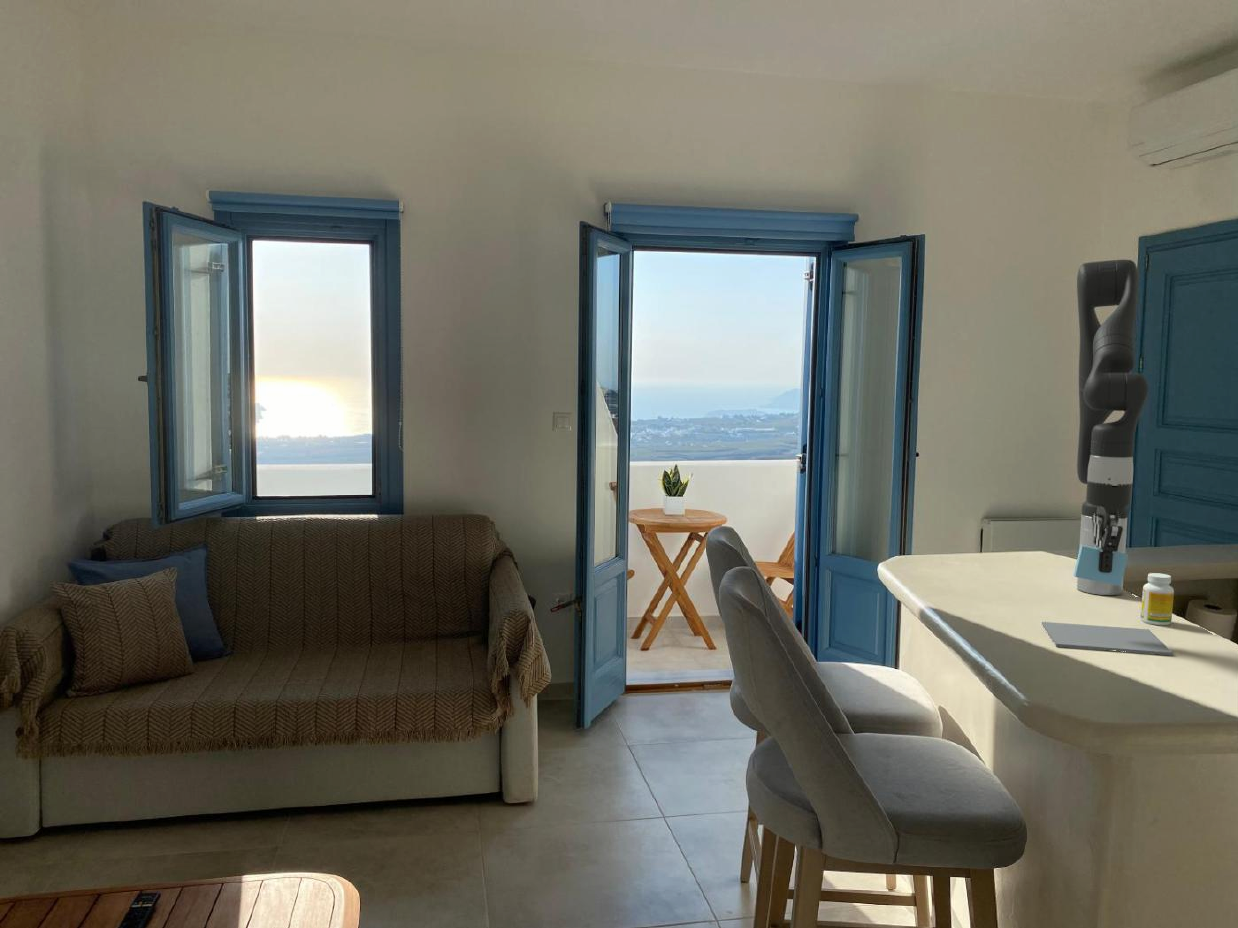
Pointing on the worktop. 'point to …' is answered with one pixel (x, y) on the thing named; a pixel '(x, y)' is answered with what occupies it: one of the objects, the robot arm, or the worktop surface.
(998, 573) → the worktop surface
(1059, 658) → the worktop surface
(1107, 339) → the robot arm
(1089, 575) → the block
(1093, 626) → the mat
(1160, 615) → the supplement bottle
